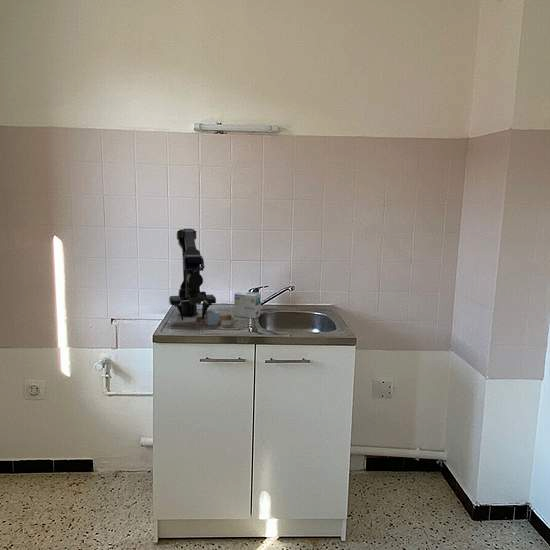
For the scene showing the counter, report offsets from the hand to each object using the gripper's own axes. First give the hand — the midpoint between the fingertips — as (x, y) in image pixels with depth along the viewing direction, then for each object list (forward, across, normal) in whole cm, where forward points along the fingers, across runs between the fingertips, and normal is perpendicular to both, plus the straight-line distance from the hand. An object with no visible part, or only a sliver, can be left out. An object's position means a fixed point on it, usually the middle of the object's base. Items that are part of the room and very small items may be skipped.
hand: (192, 319), depth 204 cm
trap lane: (+2, +10, -2) cm, 11 cm away
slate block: (+2, +8, 0) cm, 9 cm away
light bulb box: (+2, +26, +9) cm, 28 cm away
